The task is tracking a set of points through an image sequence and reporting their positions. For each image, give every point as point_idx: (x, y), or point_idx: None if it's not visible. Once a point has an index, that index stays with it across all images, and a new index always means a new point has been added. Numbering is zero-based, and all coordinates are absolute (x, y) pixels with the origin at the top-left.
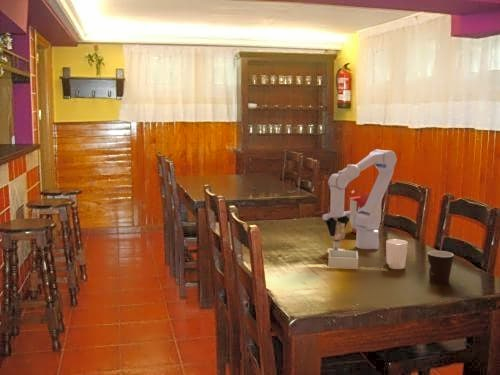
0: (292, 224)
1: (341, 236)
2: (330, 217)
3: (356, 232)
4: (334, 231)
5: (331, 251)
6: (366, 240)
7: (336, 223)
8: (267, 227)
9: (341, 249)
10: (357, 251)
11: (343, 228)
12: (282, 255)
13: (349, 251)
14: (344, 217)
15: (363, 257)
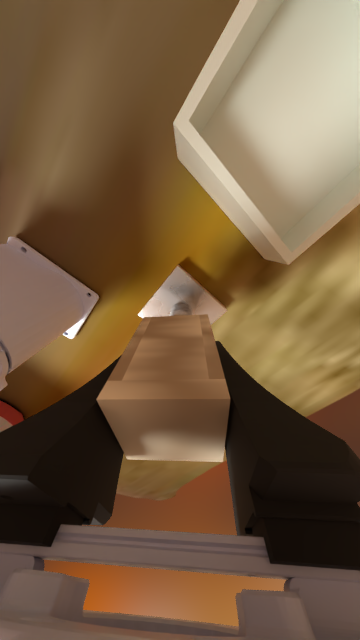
0: (122, 481)
1: (165, 323)
2: (337, 591)
3: (17, 414)
4: (222, 357)
5: (284, 249)
6: (16, 282)
7: (181, 431)
8: (173, 485)
9: (151, 316)
10: (181, 111)
11: (134, 358)
12: (332, 370)
13: (221, 164)
14: (31, 507)
15: (114, 200)
